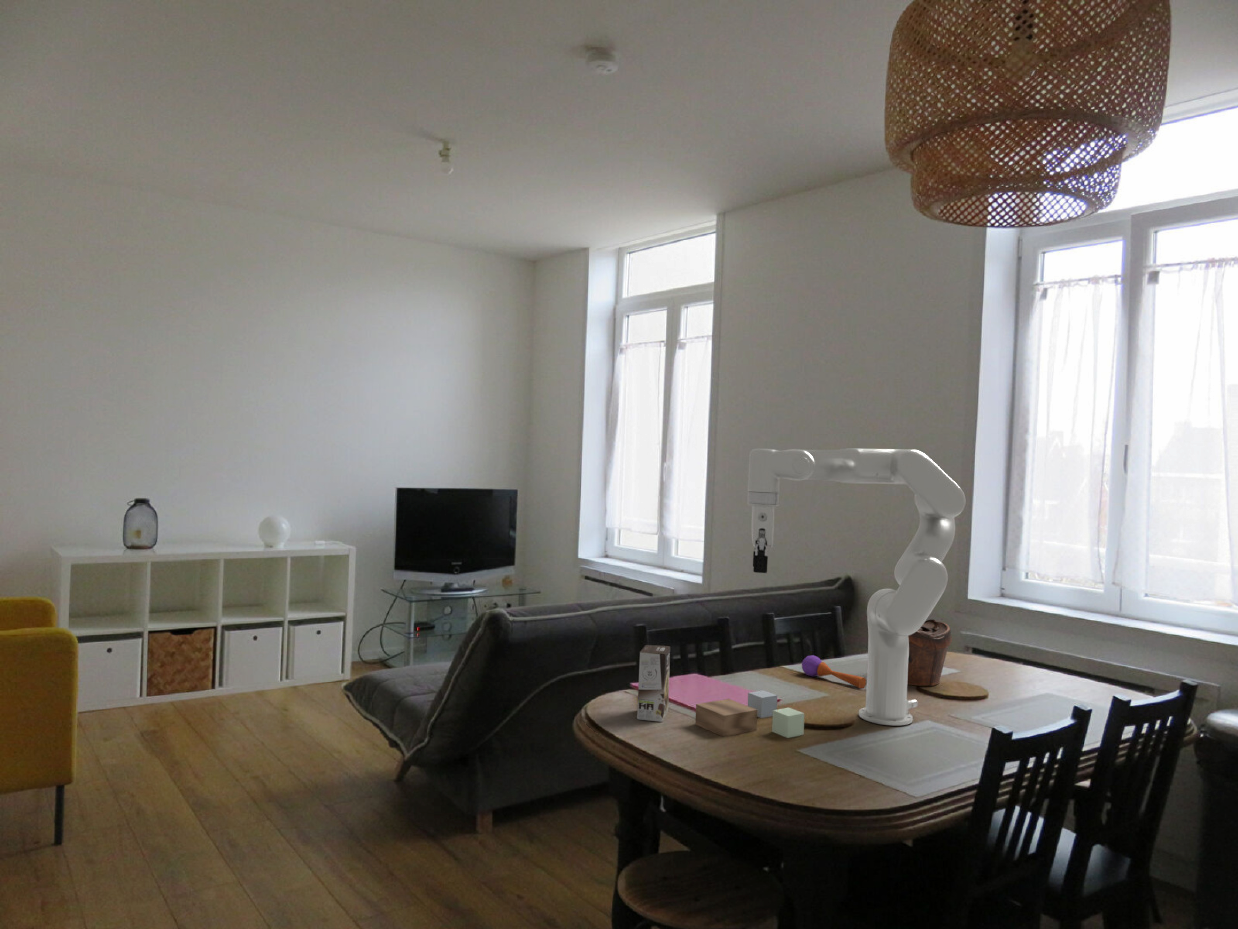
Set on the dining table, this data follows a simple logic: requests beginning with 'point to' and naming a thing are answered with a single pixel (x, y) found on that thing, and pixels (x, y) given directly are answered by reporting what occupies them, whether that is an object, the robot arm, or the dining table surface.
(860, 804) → the dining table surface
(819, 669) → the purple and orange maraca
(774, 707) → the slate block
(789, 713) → the sage block
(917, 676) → the brown plant pot
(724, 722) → the walnut base block
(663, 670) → the coffee box
